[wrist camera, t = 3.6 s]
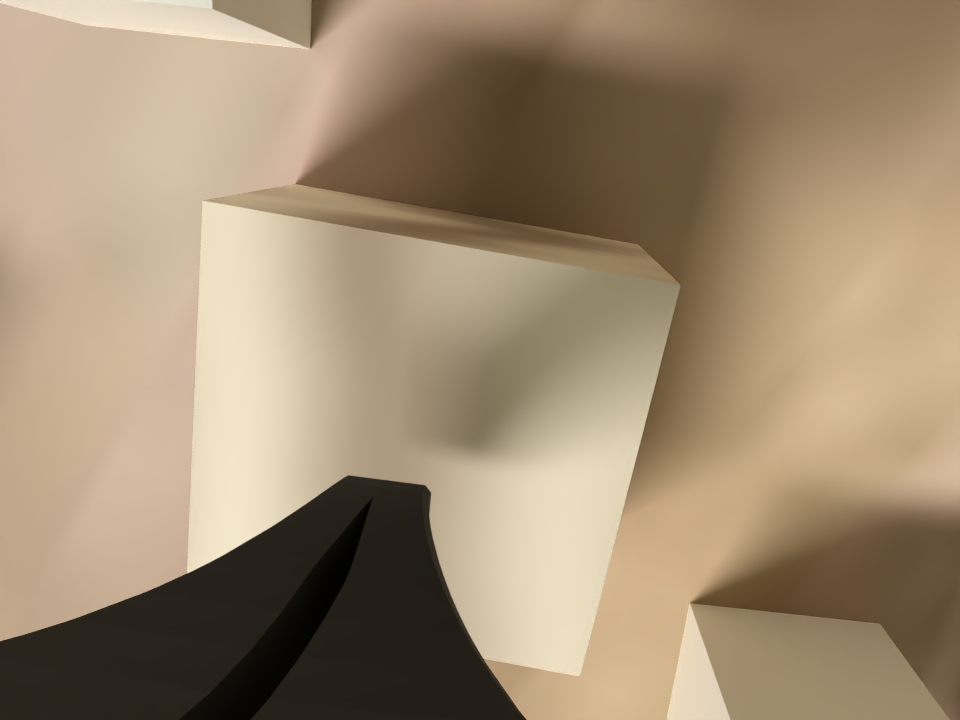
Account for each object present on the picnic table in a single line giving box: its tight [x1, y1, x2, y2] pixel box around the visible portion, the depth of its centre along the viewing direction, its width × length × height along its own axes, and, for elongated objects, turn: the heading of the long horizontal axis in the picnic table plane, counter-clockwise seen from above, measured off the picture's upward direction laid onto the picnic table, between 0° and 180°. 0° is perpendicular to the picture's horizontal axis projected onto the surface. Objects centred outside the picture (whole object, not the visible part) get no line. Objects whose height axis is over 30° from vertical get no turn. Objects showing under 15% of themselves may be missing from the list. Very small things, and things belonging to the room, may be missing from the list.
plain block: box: [187, 184, 681, 676], centre depth 15 cm, size 8×8×5 cm
